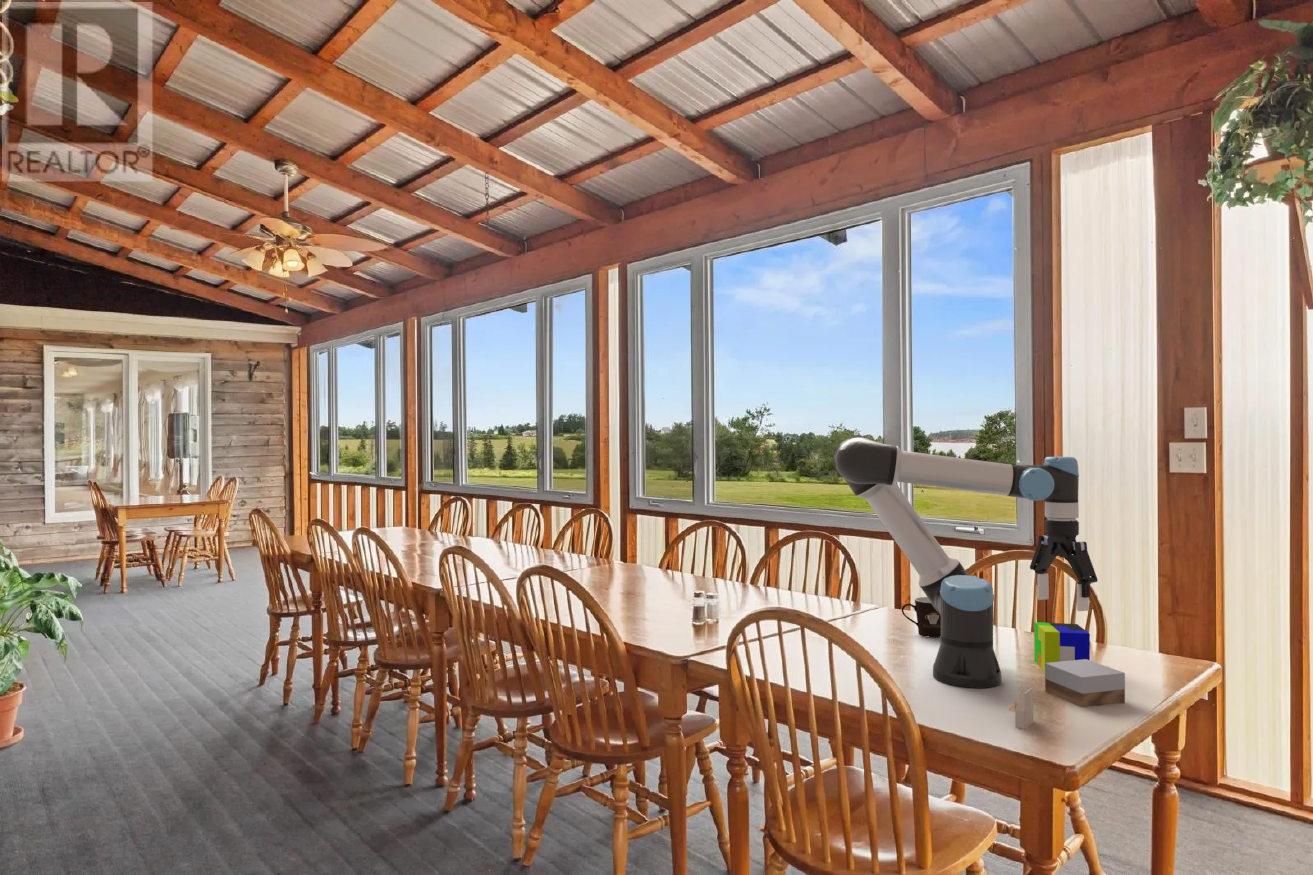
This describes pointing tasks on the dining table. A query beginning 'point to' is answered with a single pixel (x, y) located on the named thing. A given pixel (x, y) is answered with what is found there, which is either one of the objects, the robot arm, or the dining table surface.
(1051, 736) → the dining table surface
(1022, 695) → the architectural model
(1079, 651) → the puzzle toy
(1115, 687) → the slate-grey block
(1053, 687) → the walnut block
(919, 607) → the coffee mug
